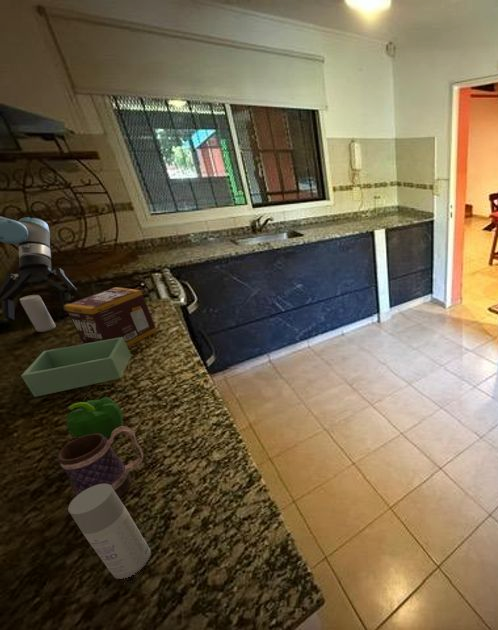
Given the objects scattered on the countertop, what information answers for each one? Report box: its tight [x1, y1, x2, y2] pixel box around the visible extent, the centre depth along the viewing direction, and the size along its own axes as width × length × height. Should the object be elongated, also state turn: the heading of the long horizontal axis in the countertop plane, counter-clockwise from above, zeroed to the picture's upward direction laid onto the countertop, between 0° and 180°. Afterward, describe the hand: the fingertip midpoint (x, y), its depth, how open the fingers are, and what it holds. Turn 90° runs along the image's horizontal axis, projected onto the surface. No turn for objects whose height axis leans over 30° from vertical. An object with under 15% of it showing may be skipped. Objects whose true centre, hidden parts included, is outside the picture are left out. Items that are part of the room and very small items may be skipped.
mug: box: [57, 425, 144, 499], centre depth 61 cm, size 10×7×12 cm
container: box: [67, 484, 152, 580], centre depth 49 cm, size 5×5×15 cm
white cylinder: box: [19, 294, 57, 333], centre depth 115 cm, size 5×5×12 cm
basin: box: [21, 337, 132, 398], centre depth 93 cm, size 18×13×7 cm
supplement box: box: [64, 286, 158, 348], centre depth 108 cm, size 10×15×16 cm
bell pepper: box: [66, 396, 124, 440], centre depth 73 cm, size 8×8×10 cm
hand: (37, 314), depth 115 cm, fingers open, 13 cm apart
